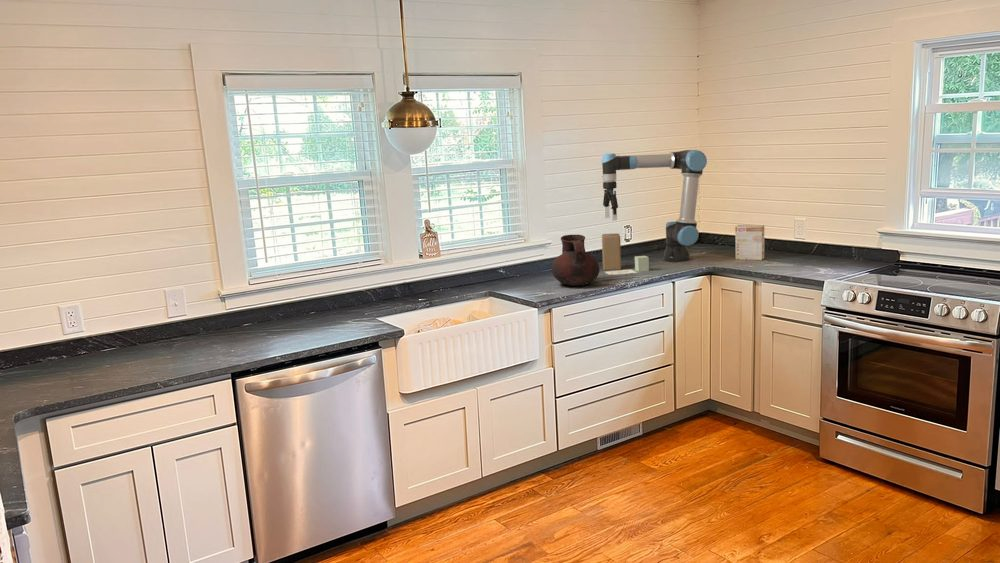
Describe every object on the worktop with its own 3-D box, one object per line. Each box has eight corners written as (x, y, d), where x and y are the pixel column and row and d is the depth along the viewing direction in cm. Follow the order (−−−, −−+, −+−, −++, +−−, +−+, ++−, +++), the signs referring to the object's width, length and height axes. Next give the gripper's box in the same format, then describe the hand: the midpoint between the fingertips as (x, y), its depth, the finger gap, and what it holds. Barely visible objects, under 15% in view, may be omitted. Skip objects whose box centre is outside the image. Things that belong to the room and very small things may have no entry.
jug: (552, 290, 375) (550, 241, 371) (551, 281, 400) (549, 235, 395) (602, 287, 374) (600, 238, 369) (598, 278, 399) (596, 232, 394)
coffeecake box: (764, 258, 429) (764, 224, 425) (761, 260, 423) (762, 226, 419) (738, 257, 436) (738, 224, 433) (735, 259, 430) (735, 226, 427)
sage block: (645, 269, 417) (644, 255, 415) (649, 271, 411) (648, 257, 409) (635, 270, 416) (634, 256, 414) (638, 272, 410) (638, 258, 408)
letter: (631, 269, 418) (631, 269, 418) (637, 273, 407) (637, 272, 407) (604, 272, 416) (603, 271, 416) (609, 275, 405) (609, 275, 405)
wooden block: (620, 267, 429) (619, 233, 425) (621, 270, 419) (620, 235, 415) (602, 268, 430) (601, 233, 426) (603, 271, 420) (602, 236, 416)
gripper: (596, 181, 426) (598, 217, 430) (609, 182, 402) (611, 221, 406) (609, 180, 427) (610, 216, 431) (623, 181, 403) (624, 220, 407)
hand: (610, 219), depth 419 cm, fingers open, 13 cm apart
